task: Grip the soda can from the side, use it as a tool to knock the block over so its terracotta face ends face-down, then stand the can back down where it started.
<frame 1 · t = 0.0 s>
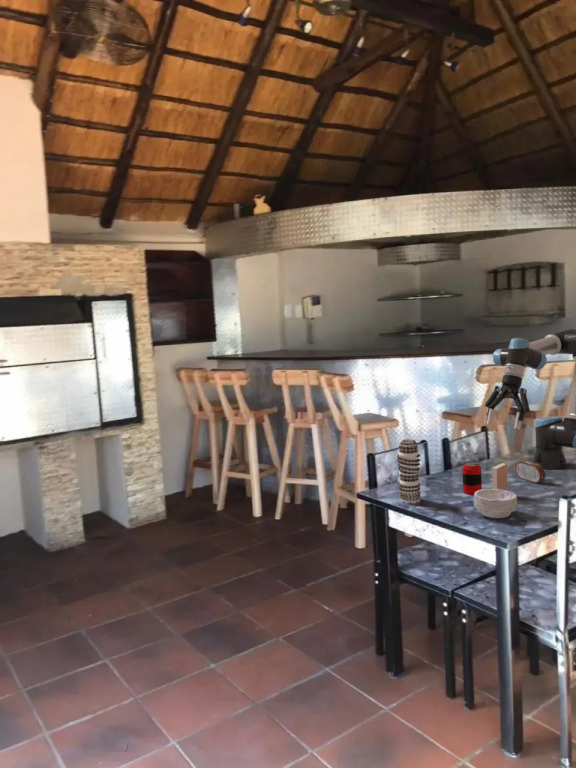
hand: (502, 426, 249), 28 cm above the table, tool tilted 20°, fingers open, 13 cm apart
soda can: (472, 492, 255), on the table
block: (499, 497, 247), on the table
decorative candle: (410, 500, 250), on the table
paper bowls: (495, 515, 228), on the table
tin: (529, 481, 267), on the table
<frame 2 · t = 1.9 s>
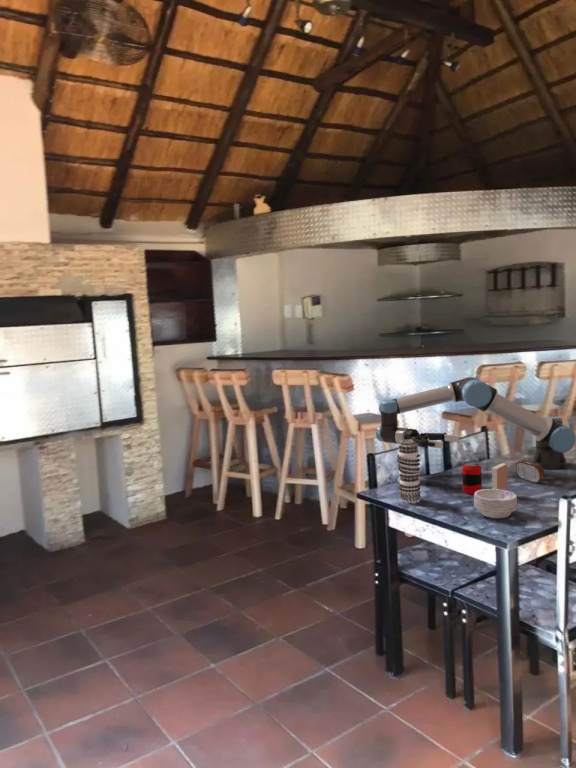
hand: (450, 442, 259), 20 cm above the table, tool horizontal, fingers open, 13 cm apart
nothing on the table moved.
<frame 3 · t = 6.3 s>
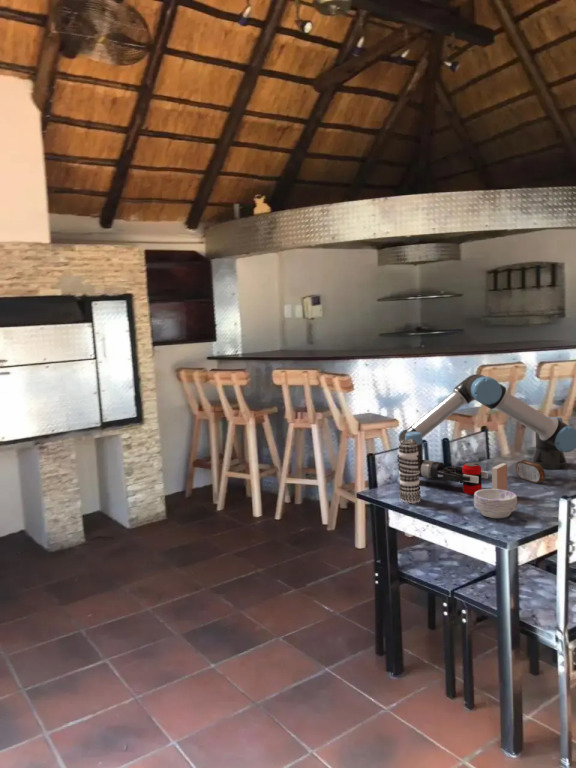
hand: (482, 477, 251), 7 cm above the table, tool horizontal, fingers closed on soda can, 7 cm apart
soda can: (472, 492, 255), on the table, touching gripper
everything else where it was.
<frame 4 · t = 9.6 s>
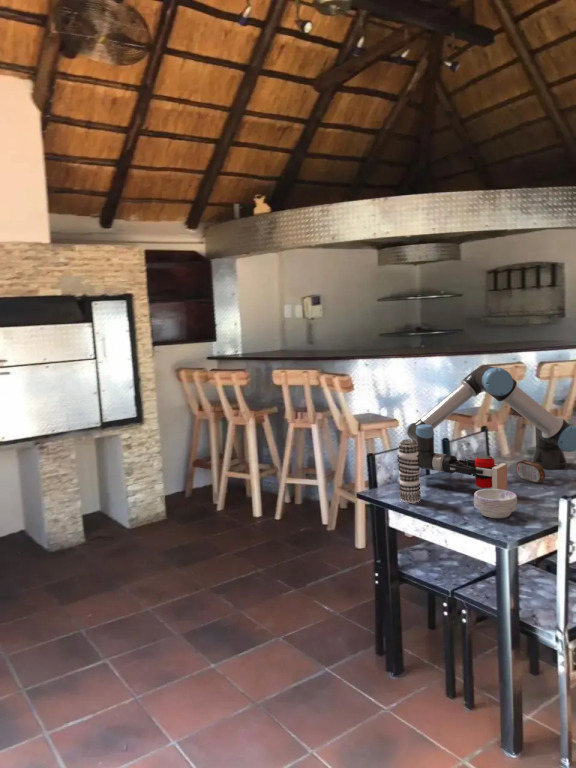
hand: (496, 470, 246), 11 cm above the table, tool horizontal, fingers closed on soda can, 7 cm apart
soda can: (485, 486, 251), point 4 cm above the table, touching gripper
block: (499, 497, 247), on the table, touching gripper
everything else where it was.
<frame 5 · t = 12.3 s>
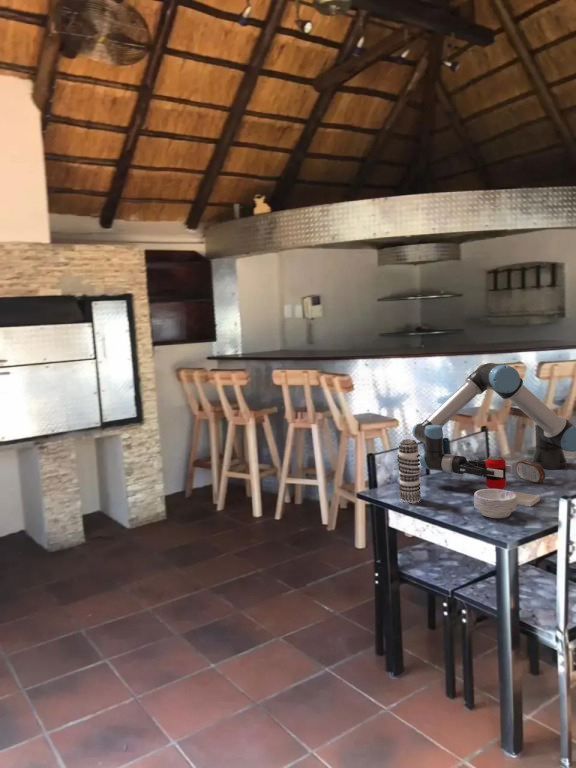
hand: (507, 471, 243), 11 cm above the table, tool horizontal, fingers closed on soda can, 7 cm apart
soda can: (495, 487, 247), point 4 cm above the table, touching gripper
block: (503, 495, 246), point 1 cm above the table, tilted 90°
everything else where it was.
when the fingers open (8 cm above the table, at t = 14.3 s): soda can drops 1 cm, on the table.
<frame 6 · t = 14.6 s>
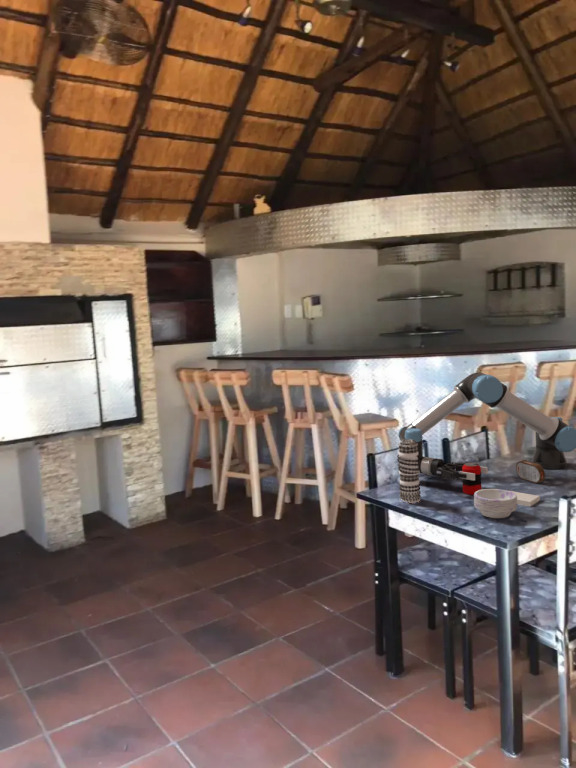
hand: (481, 473, 251), 8 cm above the table, tool horizontal, fingers open, 10 cm apart
soda can: (472, 492, 255), on the table
everything else where it was.
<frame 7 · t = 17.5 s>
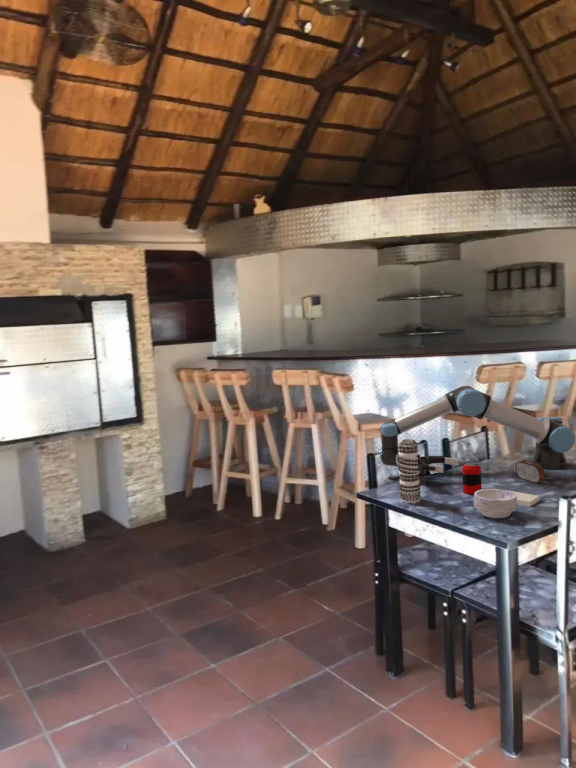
hand: (450, 465, 262), 10 cm above the table, tool horizontal, fingers open, 13 cm apart
nothing on the table moved.
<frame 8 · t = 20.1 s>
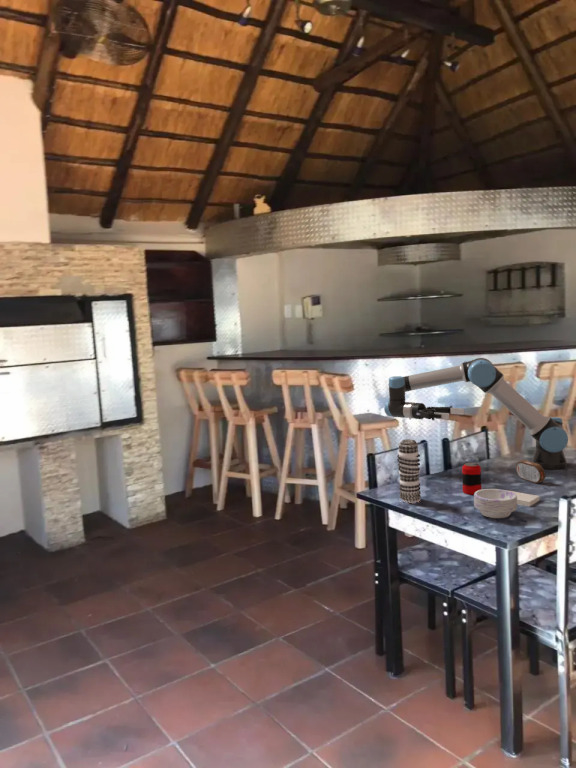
hand: (456, 414, 271), 30 cm above the table, tool horizontal, fingers open, 13 cm apart
nothing on the table moved.
at the end: block tilted 90°; soda can tilted 0°; soda can inside the target area (0.1 cm from its centre), on the table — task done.
